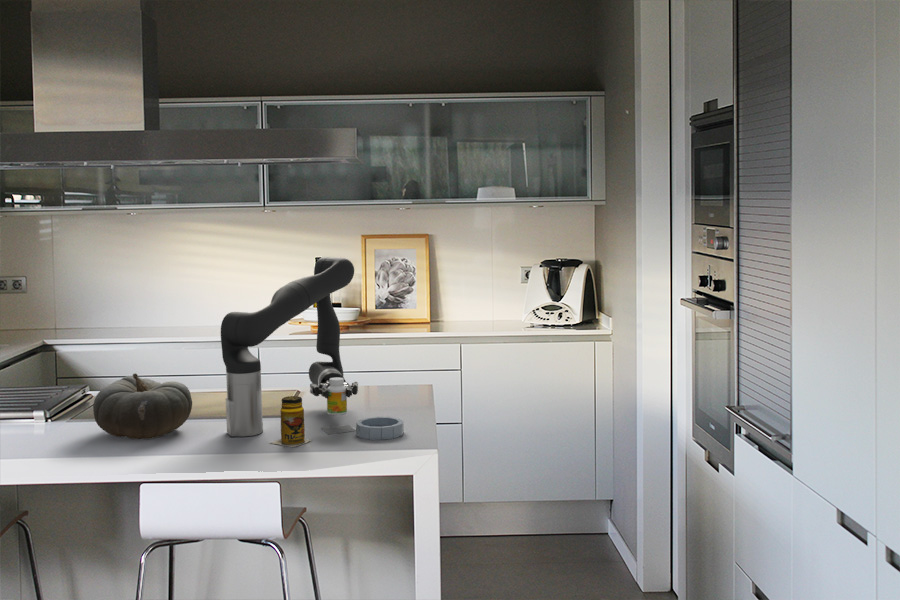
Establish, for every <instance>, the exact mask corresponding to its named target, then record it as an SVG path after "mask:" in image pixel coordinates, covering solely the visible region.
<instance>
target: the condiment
mask: <svg viewBox="0 0 900 600" xmlns="http://www.w3.org/2000/svg"><path fill="white" fill-rule="evenodd" d="M280 435H281V437H280V439H277V440H274V441H270V444H274V445H280V446H282V447H283V446H284V447H291V448H292V447H293V448H295V447H299V446H302V445H304V444H306V443H308V442H310V441H312V439H306V437H305V436H306V435H305V410H304V407H303V398H302V397H301V396H297V395H290V396H285V397H282V398H281V408H280Z"/></svg>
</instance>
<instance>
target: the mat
mask: <svg viewBox="0 0 900 600" xmlns="http://www.w3.org/2000/svg"><path fill="white" fill-rule="evenodd" d="M320 429H321V430H322V431H323V432H324V433H325V434H327V435H335V434H345V433H346V434H347V433H351V432H352V433H353V432H354V433H355V432H356V428H353V427H352V426H350V425H337V426H331V427H330V426H329V427H322V428H320Z"/></svg>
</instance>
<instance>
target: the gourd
mask: <svg viewBox="0 0 900 600" xmlns="http://www.w3.org/2000/svg"><path fill="white" fill-rule="evenodd" d="M92 406H93V415H94V416H93V417H94V420H95V423H96V424H97V426H98V427H99V428H100V429H101V430H102V431H104V432H105V433H107V434H109V435H111V436H114V437H116V438H123V437H126V438H128V439H134V440H144V439H145V440H150V439H155V438H159V437H163V436H165V435H167V434H170V433H171V432H173V431H176V430H177V429H179V428H180V427H181V426H183V425H184V424H185V423H186V421H187V420H188V419H189V417H190V416H191V413H192V408H193V399H192V395H191V392H190V389H189V387H188V386H186V384H184V383H182V382H179V381H165V382H163V383H161V382H158V381H155V380H154V379H150V378H142V377H139V376H138V374H137V373H135V372H134V373H133V374H132V376H131V375H128V376H123V377H122V378H120V379H119V380H116V381H113V382H112V383H110V384H108V385H106V386H104V387H103V388H102V389H101V390H100V391H99V392H98V393H97V394H96V396H95V398H94V400H93V405H92Z"/></svg>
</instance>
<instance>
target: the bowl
mask: <svg viewBox="0 0 900 600" xmlns="http://www.w3.org/2000/svg"><path fill="white" fill-rule="evenodd" d="M404 427H405V426H404V420H403V419H401V418H399V417H393V416H373V417H370V416H369V417H365V418H362V419H359V420H357V422H355V430H356V431H355V433H356V436H357V437H359V438H360V439H365V440H374V441H375V440H379V441H380V440H381V441H382V440H390V439H396V438H399V437H402V436H403V434H404V431H405V430H404Z"/></svg>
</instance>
